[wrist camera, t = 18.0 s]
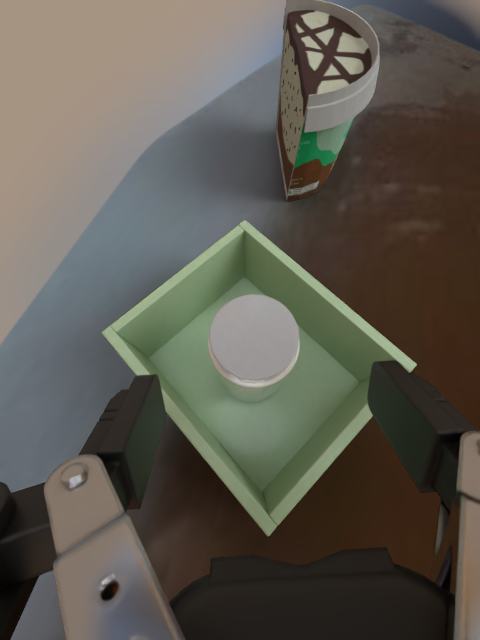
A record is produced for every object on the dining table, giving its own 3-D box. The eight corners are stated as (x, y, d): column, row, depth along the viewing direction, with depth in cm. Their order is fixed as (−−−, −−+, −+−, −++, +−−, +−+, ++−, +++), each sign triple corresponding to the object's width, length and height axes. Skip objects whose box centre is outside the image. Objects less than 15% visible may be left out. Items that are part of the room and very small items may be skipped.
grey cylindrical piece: (251, 329, 23) (254, 273, 15) (295, 372, 22) (324, 335, 14) (206, 369, 22) (184, 332, 14) (250, 417, 21) (253, 406, 13)
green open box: (245, 271, 25) (244, 219, 19) (369, 384, 22) (417, 364, 16) (139, 359, 23) (100, 332, 17) (261, 504, 19) (268, 537, 13)
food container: (354, 209, 28) (409, 94, 18) (288, 214, 28) (310, 101, 18) (330, 118, 32) (366, -11, 23) (274, 122, 32) (285, -7, 23)
